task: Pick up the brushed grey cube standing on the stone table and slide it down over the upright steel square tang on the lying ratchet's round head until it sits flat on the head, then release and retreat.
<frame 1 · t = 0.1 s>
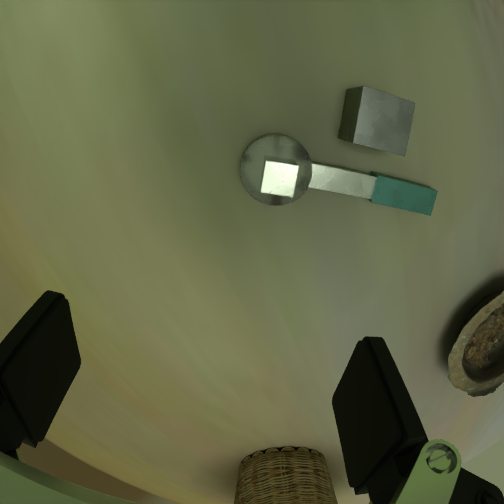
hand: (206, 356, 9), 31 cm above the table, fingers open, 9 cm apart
wicker basket: (282, 464, 67), on the table
stone bowl: (485, 323, 49), on the table
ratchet: (274, 166, 38), on the table
brushed grey cube: (366, 119, 35), on the table
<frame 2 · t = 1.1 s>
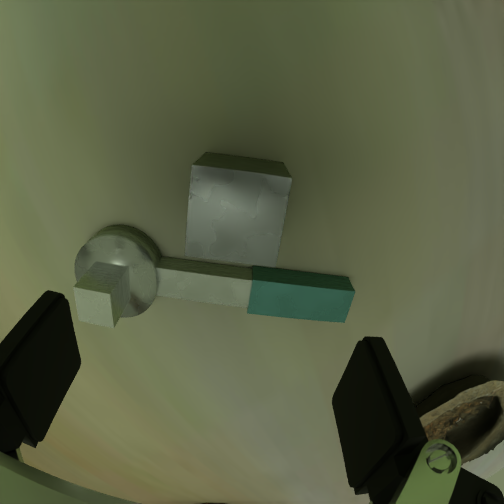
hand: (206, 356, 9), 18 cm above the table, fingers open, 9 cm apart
stone bowl: (443, 407, 40), on the table
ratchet: (124, 264, 29), on the table
brushed grey cube: (239, 193, 26), on the table
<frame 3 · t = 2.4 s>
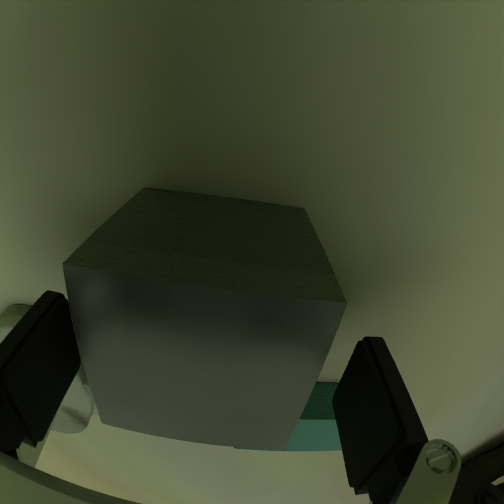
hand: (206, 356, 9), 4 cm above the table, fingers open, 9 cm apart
stone bowl: (468, 471, 28), on the table
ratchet: (47, 357, 16), on the table
brushed grey cube: (214, 269, 13), on the table
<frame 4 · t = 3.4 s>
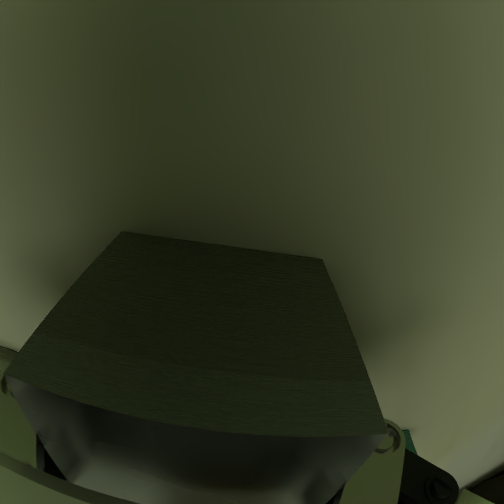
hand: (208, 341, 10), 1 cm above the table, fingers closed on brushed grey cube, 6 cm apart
stone bowl: (475, 493, 25), on the table
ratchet: (32, 399, 13), on the table
brushed grey cube: (211, 327, 11), on the table, touching gripper
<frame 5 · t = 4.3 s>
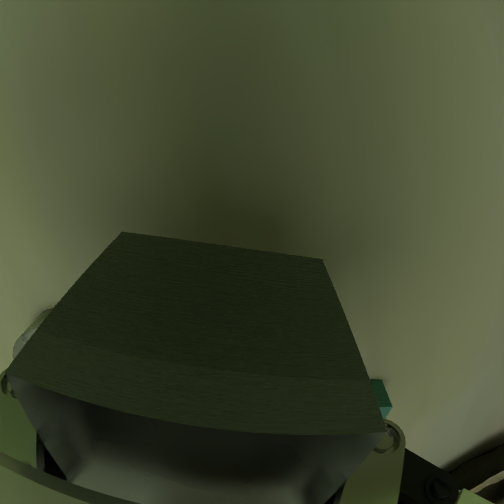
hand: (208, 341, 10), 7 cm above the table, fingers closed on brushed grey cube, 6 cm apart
stone bowl: (464, 475, 29), on the table
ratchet: (78, 356, 19), on the table
brushed grey cube: (211, 327, 11), point 6 cm above the table, touching gripper
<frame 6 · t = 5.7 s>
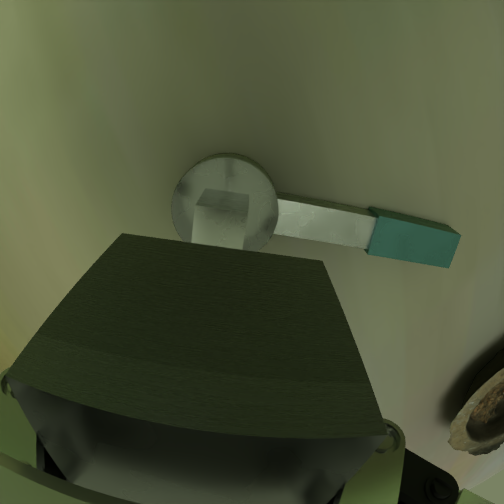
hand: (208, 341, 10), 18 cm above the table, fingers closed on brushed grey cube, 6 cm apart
stone bowl: (496, 376, 38), on the table
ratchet: (227, 200, 26), on the table
brushed grey cube: (211, 329, 11), point 17 cm above the table, touching gripper
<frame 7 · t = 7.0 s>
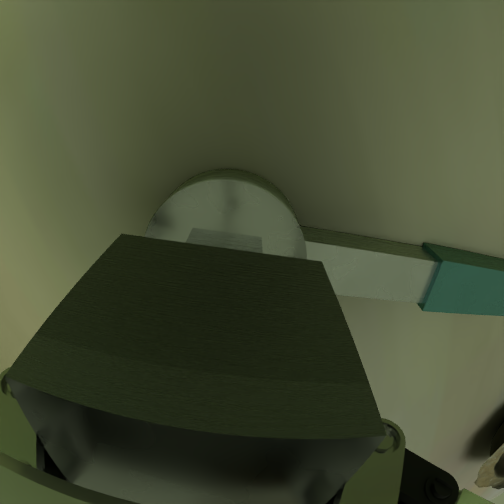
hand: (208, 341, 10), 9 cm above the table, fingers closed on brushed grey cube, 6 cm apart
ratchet: (227, 239, 18), on the table
brushed grey cube: (211, 329, 11), point 8 cm above the table, touching gripper
when the fingers open (4 cm above the table, at t = 8.4 s): brushed grey cube stays where it is, resting on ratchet.
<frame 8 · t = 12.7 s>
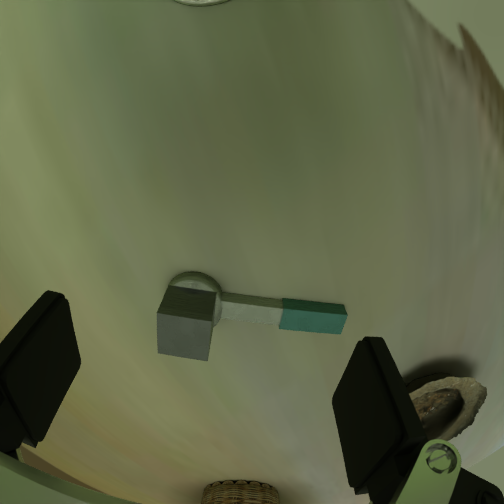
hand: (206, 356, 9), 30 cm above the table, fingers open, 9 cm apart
wicker basket: (240, 492, 73), on the table
stone bowl: (418, 397, 55), on the table
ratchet: (194, 296, 44), on the table
brushed grey cube: (191, 308, 41), point 3 cm above the table, touching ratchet
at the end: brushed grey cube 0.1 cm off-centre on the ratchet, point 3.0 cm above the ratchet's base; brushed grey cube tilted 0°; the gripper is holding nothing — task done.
